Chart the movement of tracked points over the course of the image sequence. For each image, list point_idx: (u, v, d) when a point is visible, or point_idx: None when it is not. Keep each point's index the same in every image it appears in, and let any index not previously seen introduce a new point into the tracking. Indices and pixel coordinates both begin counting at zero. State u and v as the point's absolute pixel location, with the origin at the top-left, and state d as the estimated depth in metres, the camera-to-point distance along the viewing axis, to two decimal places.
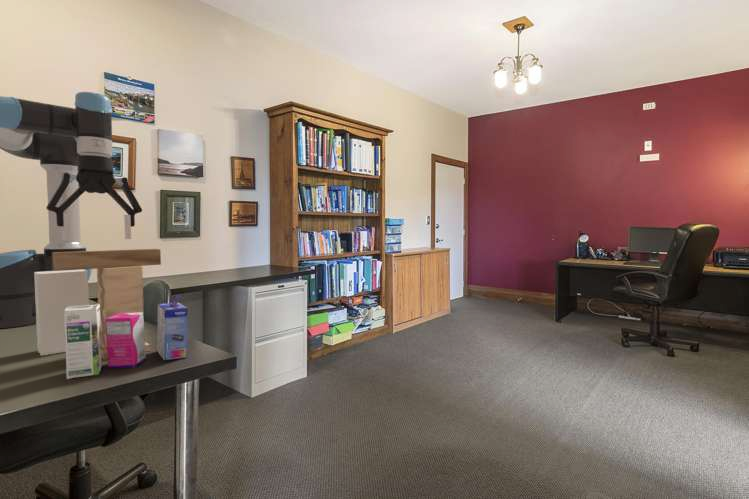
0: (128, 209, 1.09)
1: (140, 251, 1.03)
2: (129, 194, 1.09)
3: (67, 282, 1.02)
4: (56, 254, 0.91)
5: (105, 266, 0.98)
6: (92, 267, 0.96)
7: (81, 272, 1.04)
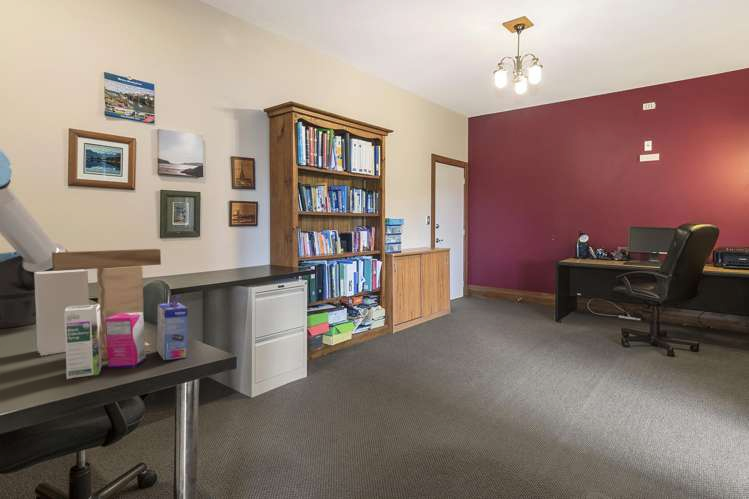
0: None
1: (140, 251, 1.03)
2: None
3: (67, 282, 1.02)
4: (56, 254, 0.91)
5: (105, 266, 0.98)
6: (92, 267, 0.96)
7: (81, 272, 1.04)
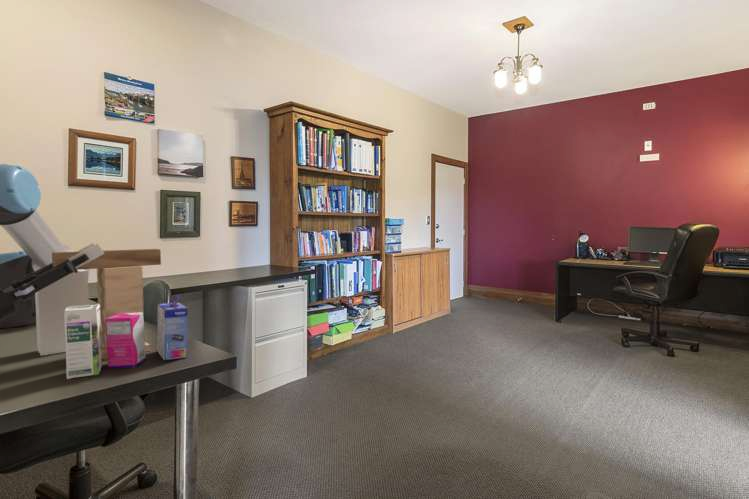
0: None
1: (140, 251, 1.03)
2: (35, 271, 0.94)
3: (67, 282, 1.02)
4: (56, 254, 0.91)
5: (105, 266, 0.98)
6: (92, 267, 0.96)
7: (81, 272, 1.04)
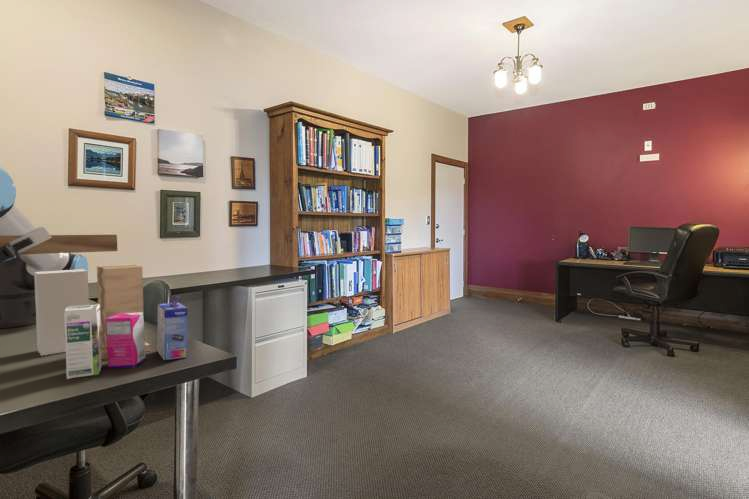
0: None
1: (93, 236, 0.96)
2: None
3: (67, 282, 1.02)
4: None
5: (53, 251, 0.91)
6: (38, 252, 0.89)
7: (81, 272, 1.04)
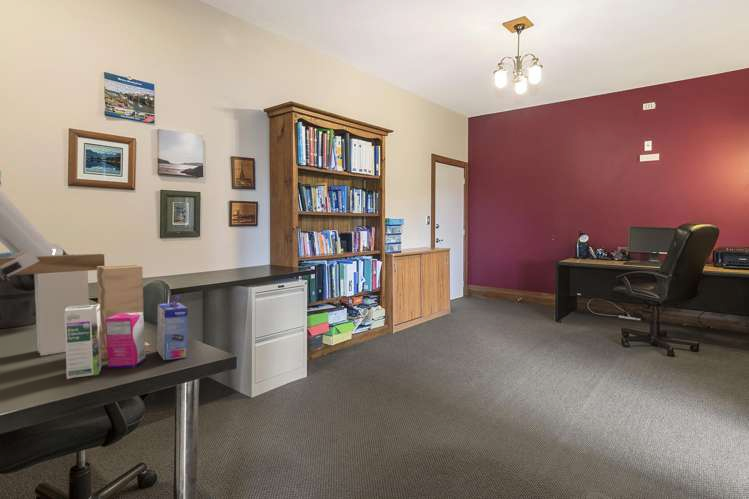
0: None
1: (82, 256, 1.05)
2: None
3: (67, 282, 1.02)
4: None
5: (45, 271, 0.99)
6: (31, 272, 0.97)
7: (81, 272, 1.04)
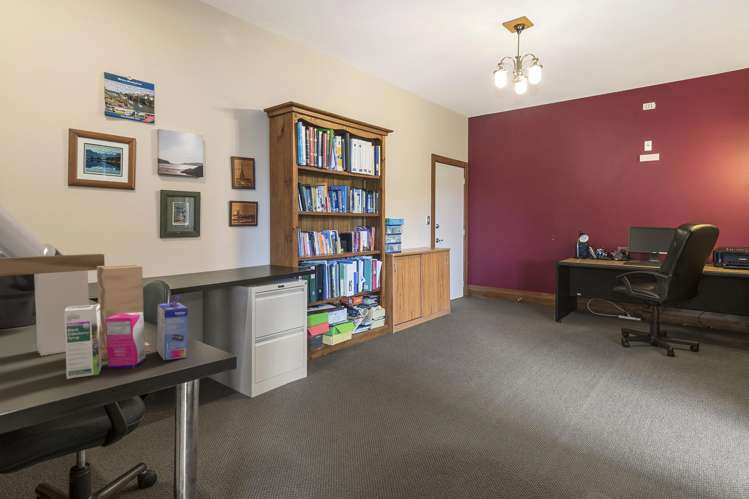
0: None
1: (82, 256, 1.05)
2: None
3: (67, 282, 1.02)
4: None
5: (45, 271, 0.99)
6: (31, 272, 0.97)
7: (81, 272, 1.04)
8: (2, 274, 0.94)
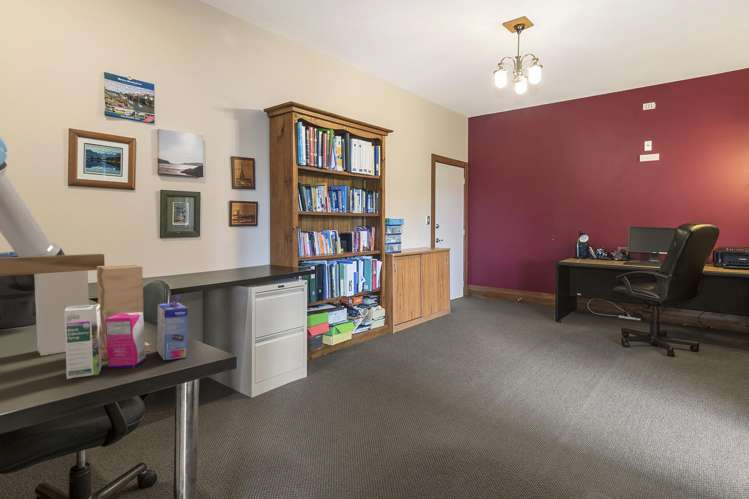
0: None
1: (82, 256, 1.05)
2: None
3: (67, 282, 1.02)
4: None
5: (45, 271, 0.99)
6: (31, 272, 0.97)
7: (81, 272, 1.04)
8: (2, 274, 0.94)
